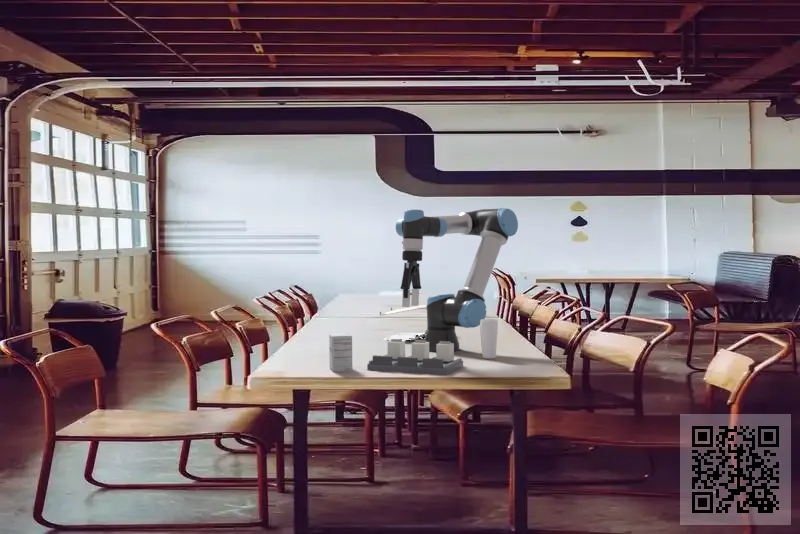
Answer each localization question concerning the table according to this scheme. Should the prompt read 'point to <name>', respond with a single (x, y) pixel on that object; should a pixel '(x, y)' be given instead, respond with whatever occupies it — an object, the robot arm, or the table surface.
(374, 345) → the table surface
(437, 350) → the switch slider
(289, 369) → the table surface
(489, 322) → the drinking glass
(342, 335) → the supplement box
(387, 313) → the portable electronic device stand
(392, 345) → the white block
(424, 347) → the white block with ridge
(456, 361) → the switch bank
